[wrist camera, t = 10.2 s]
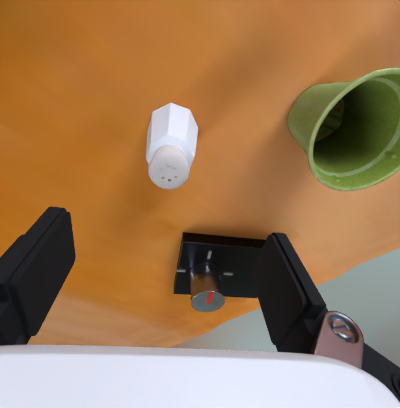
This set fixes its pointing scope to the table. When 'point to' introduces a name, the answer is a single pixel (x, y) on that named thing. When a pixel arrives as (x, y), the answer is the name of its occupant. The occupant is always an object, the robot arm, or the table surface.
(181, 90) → the table surface
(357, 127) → the plant pot
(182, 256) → the black knob panel
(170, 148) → the pepper shaker
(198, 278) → the hob knob
